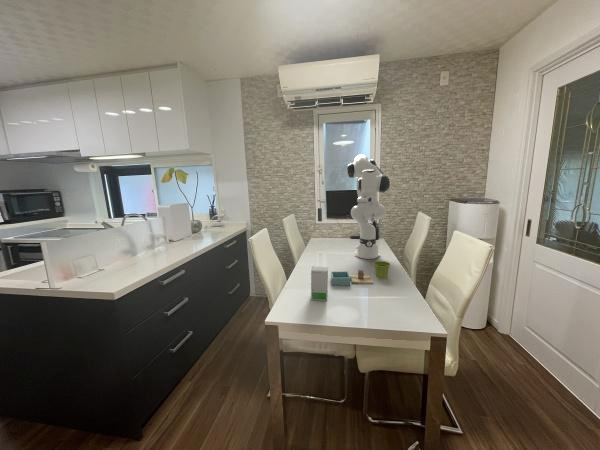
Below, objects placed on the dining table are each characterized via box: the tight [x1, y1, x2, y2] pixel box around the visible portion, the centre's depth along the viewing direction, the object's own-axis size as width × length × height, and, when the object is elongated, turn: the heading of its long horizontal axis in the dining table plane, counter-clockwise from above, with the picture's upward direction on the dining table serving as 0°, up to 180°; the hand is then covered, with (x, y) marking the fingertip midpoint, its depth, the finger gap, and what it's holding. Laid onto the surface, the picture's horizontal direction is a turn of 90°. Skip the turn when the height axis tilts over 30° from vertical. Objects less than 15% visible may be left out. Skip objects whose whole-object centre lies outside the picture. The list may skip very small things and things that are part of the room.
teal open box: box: [330, 270, 351, 287], centre depth 143 cm, size 10×10×5 cm
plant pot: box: [373, 260, 391, 279], centre depth 148 cm, size 9×9×9 cm
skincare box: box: [310, 265, 329, 302], centre depth 125 cm, size 8×7×16 cm
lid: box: [349, 269, 374, 285], centre depth 145 cm, size 11×11×5 cm
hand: (368, 222), depth 145 cm, fingers open, 8 cm apart
